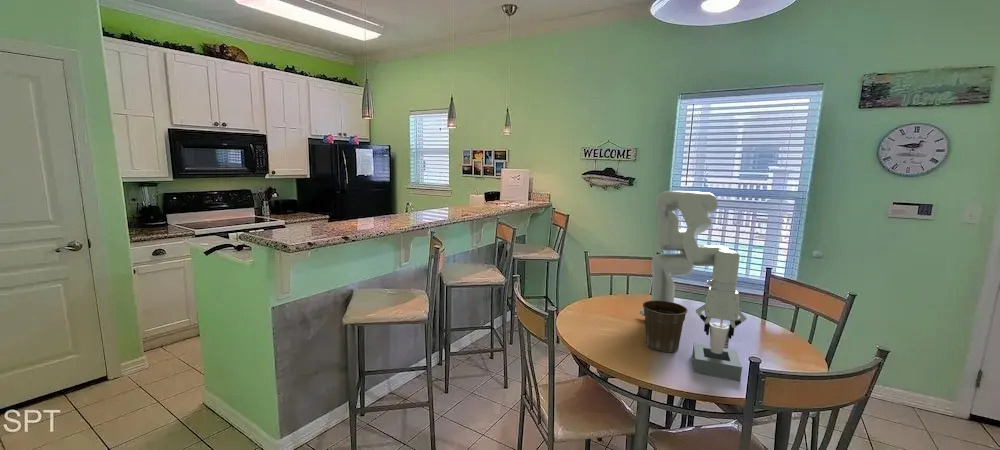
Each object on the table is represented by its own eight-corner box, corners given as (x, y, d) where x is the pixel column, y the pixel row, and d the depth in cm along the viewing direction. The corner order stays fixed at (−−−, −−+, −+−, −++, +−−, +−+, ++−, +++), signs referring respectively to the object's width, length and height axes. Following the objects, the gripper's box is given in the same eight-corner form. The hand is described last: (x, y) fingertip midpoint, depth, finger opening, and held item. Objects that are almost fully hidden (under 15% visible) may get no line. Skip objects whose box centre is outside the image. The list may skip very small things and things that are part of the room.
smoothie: (729, 356, 143) (734, 317, 141) (709, 354, 144) (713, 315, 142) (723, 348, 149) (727, 311, 147) (704, 346, 150) (708, 309, 148)
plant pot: (630, 340, 168) (633, 302, 166) (661, 335, 175) (664, 298, 172) (660, 358, 154) (664, 316, 151) (693, 351, 160) (697, 311, 158)
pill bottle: (726, 342, 169) (729, 322, 167) (729, 348, 164) (731, 326, 162) (712, 340, 170) (714, 320, 169) (714, 346, 165) (716, 324, 164)
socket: (694, 372, 144) (695, 358, 143) (692, 355, 156) (693, 343, 156) (740, 381, 138) (742, 367, 138) (734, 363, 151) (736, 350, 150)
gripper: (696, 285, 143) (691, 335, 146) (754, 292, 136) (748, 344, 139) (695, 279, 150) (690, 327, 152) (750, 286, 143) (744, 336, 146)
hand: (718, 335), depth 146 cm, fingers closed on smoothie, 6 cm apart
